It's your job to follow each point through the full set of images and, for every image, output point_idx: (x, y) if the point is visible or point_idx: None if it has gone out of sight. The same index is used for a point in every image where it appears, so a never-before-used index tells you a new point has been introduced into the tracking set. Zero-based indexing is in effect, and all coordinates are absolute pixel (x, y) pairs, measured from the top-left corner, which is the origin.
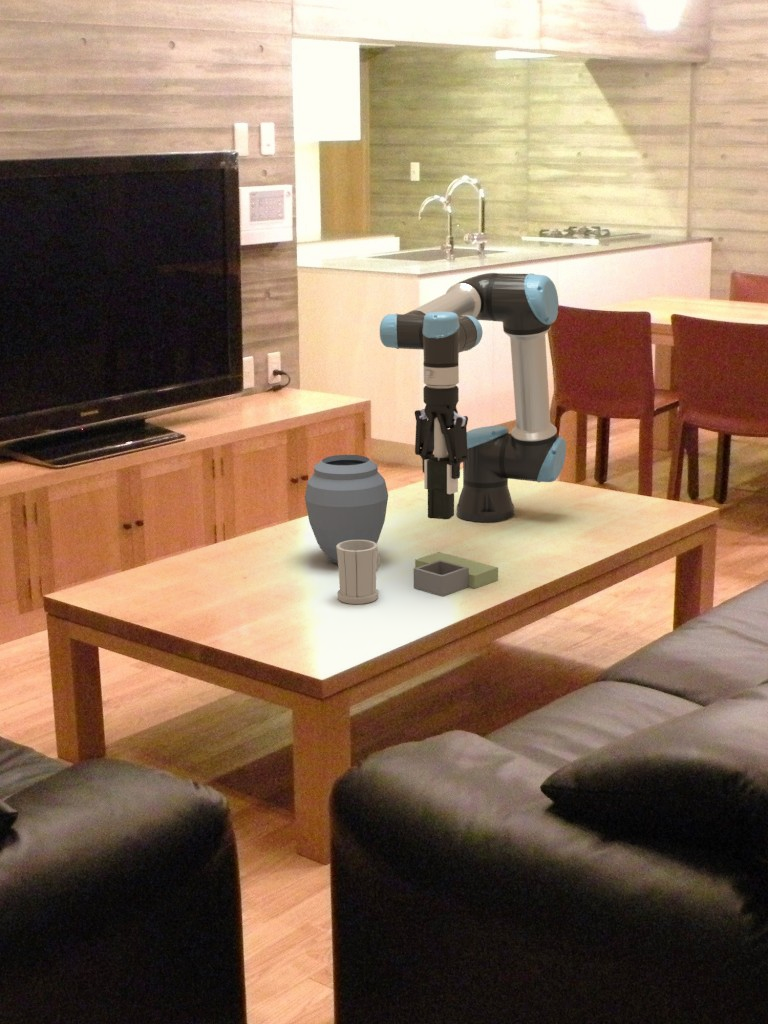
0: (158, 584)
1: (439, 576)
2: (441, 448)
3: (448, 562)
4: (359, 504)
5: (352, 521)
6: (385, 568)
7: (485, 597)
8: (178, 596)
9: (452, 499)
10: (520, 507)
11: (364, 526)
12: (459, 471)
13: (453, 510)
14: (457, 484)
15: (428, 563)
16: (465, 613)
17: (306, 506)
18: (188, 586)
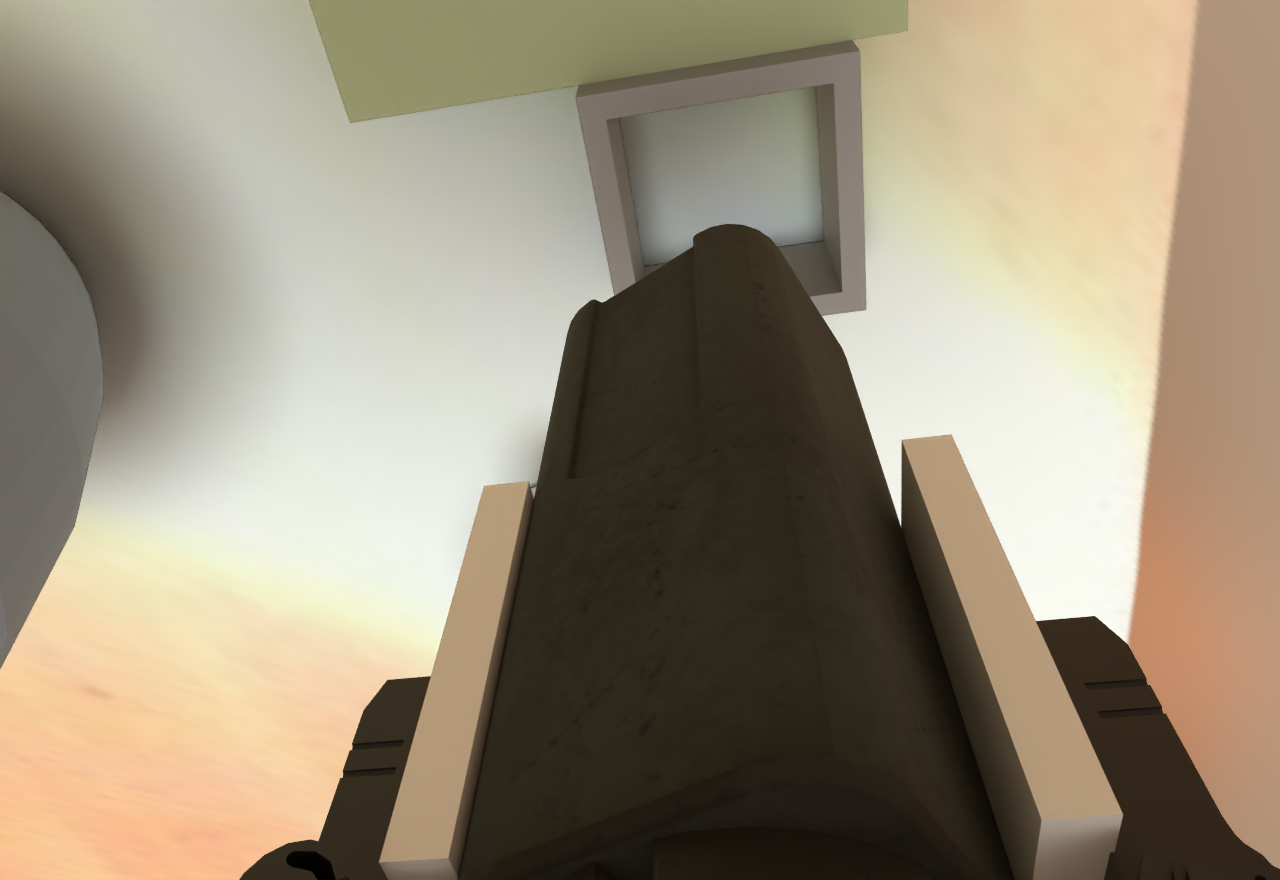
0: (66, 864)
1: (840, 311)
2: None
3: (665, 89)
4: None
5: (52, 553)
6: (216, 195)
7: (1053, 73)
8: (220, 871)
9: (831, 384)
10: None
11: (66, 452)
12: (1162, 721)
13: (795, 287)
14: (983, 513)
15: (473, 102)
16: (1121, 329)
17: None
18: (126, 826)
